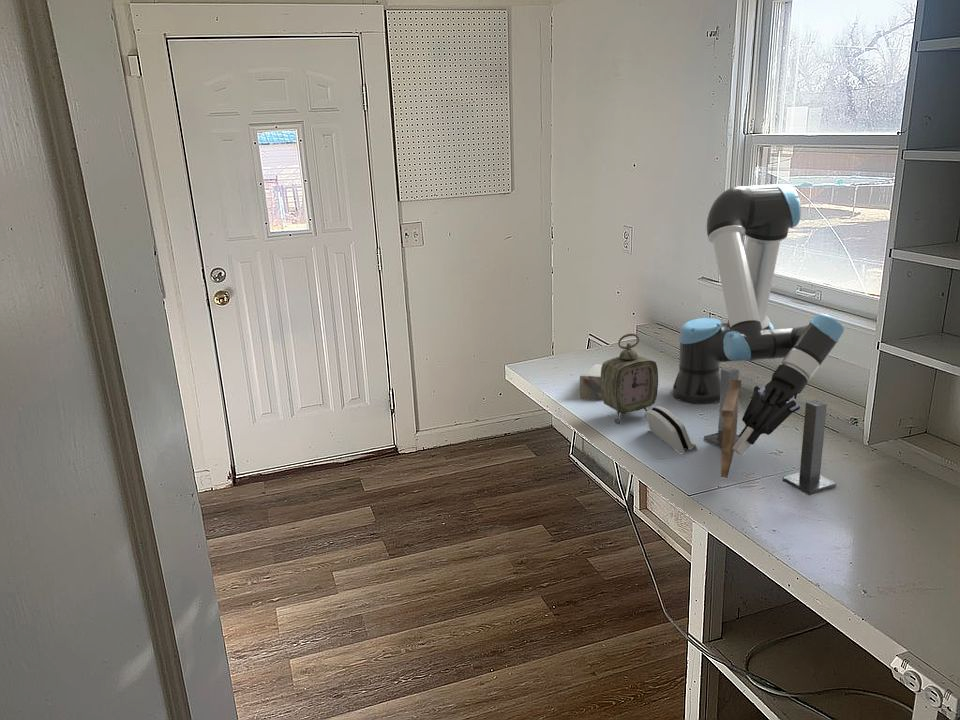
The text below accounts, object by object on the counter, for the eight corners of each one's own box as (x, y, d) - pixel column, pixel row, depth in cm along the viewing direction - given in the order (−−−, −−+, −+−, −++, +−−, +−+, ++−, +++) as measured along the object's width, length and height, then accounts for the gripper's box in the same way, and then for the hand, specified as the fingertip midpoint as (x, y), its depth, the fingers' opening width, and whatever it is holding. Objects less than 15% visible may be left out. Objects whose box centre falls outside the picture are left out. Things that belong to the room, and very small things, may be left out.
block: (593, 380, 248) (593, 357, 245) (617, 381, 245) (618, 358, 242) (579, 399, 231) (578, 375, 229) (604, 401, 228) (604, 377, 226)
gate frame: (727, 433, 201) (731, 362, 195) (836, 487, 170) (844, 405, 164) (703, 439, 198) (706, 368, 192) (809, 495, 167) (817, 412, 161)
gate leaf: (737, 441, 192) (741, 380, 187) (729, 478, 173) (733, 411, 168) (724, 440, 193) (727, 379, 188) (715, 476, 174) (718, 409, 169)
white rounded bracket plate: (698, 451, 191) (688, 419, 188) (682, 459, 191) (672, 427, 187) (666, 427, 207) (655, 397, 203) (651, 435, 206) (640, 405, 203)
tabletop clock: (615, 427, 209) (616, 341, 201) (597, 417, 216) (597, 334, 209) (657, 416, 214) (659, 333, 207) (638, 407, 222) (639, 326, 215)
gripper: (824, 388, 174) (765, 470, 173) (781, 373, 185) (726, 450, 184) (808, 371, 170) (748, 454, 169) (766, 356, 181) (709, 435, 180)
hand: (737, 452), depth 177 cm, fingers closed
